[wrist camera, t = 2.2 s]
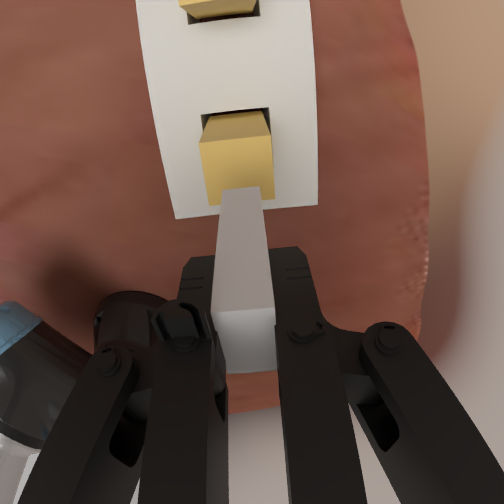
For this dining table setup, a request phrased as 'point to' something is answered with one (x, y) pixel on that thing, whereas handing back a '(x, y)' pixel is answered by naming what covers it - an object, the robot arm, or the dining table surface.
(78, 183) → the dining table surface
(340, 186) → the dining table surface
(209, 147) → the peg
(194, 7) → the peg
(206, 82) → the socket block
